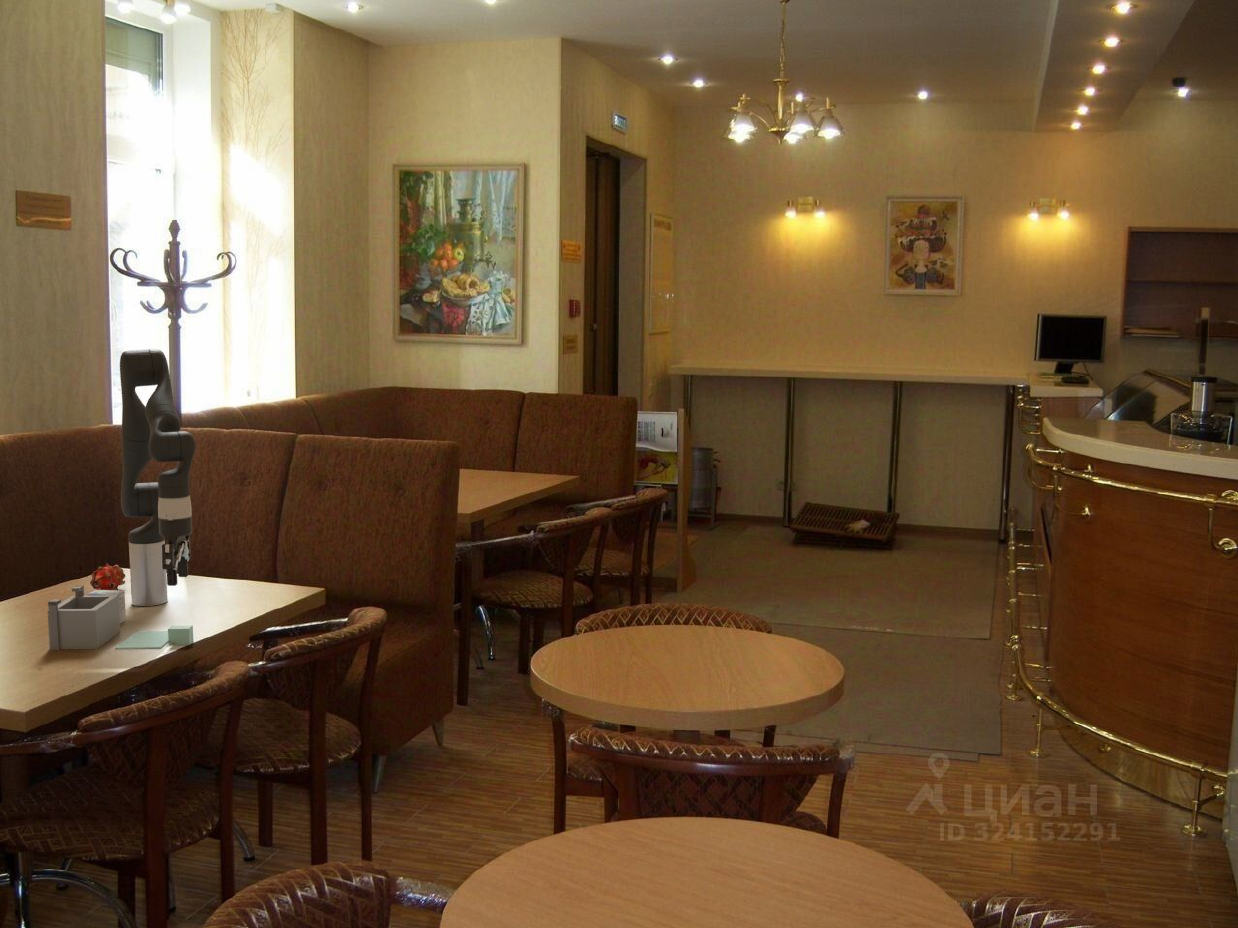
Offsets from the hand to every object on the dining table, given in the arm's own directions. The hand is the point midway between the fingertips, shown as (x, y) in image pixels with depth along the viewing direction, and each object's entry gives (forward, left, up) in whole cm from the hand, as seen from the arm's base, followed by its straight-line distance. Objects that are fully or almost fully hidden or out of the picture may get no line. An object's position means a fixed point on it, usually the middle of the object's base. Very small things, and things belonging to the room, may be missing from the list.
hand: (177, 581), depth 289 cm
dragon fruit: (-54, -37, -16) cm, 67 cm away
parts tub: (-1, -23, -15) cm, 27 cm away
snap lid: (0, -5, -15) cm, 16 cm away
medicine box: (-18, -24, -16) cm, 34 cm away
